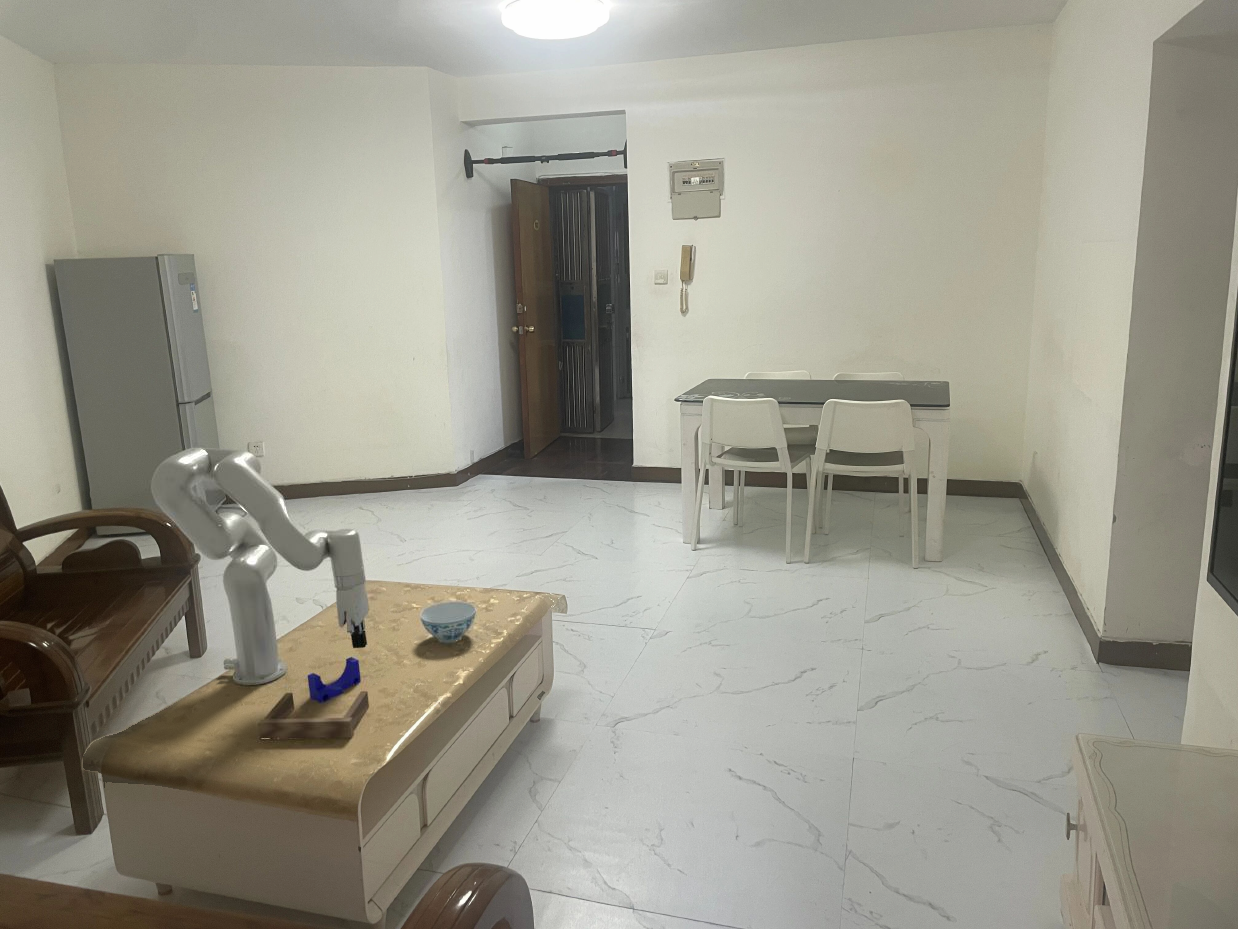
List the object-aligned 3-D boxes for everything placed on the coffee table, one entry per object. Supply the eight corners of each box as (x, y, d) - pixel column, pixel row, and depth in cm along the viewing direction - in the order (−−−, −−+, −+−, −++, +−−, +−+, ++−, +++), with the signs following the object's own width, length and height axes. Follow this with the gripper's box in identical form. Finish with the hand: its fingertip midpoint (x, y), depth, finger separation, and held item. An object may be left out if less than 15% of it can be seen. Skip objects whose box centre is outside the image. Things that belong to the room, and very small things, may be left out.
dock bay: (260, 739, 183) (258, 722, 182) (285, 708, 196) (283, 692, 196) (351, 738, 183) (349, 721, 182) (371, 707, 196) (369, 691, 195)
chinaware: (472, 649, 225) (470, 621, 223) (416, 650, 225) (413, 623, 224) (482, 626, 240) (480, 600, 238) (429, 627, 240) (427, 602, 238)
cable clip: (320, 704, 199) (318, 680, 197) (310, 698, 201) (307, 675, 200) (364, 684, 208) (362, 661, 206) (353, 679, 210) (351, 657, 209)
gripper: (345, 569, 219) (355, 635, 223) (324, 590, 204) (335, 660, 208) (373, 567, 219) (383, 633, 223) (354, 588, 204) (365, 658, 208)
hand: (360, 646), depth 215 cm, fingers closed
